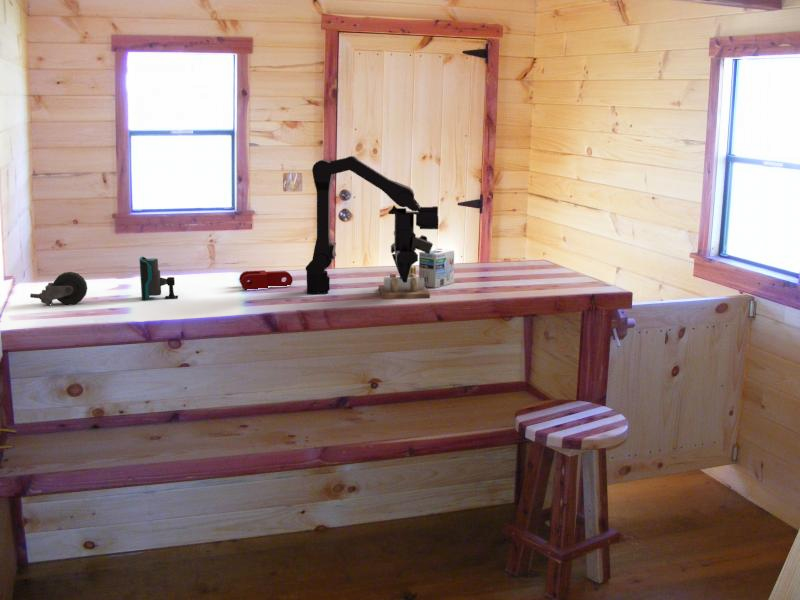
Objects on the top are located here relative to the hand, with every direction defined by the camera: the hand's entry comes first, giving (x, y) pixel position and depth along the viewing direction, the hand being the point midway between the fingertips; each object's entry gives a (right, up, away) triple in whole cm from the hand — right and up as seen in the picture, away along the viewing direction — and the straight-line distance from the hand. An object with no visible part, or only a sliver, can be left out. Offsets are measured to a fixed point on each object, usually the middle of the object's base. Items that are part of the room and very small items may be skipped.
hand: (403, 280), depth 274 cm
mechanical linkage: (-43, -2, +8) cm, 43 cm away
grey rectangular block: (0, -3, +1) cm, 3 cm away
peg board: (0, -4, +1) cm, 4 cm away
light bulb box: (+11, -1, +15) cm, 18 cm away
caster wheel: (-98, -7, -17) cm, 99 cm away
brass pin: (+3, -1, +13) cm, 13 cm away
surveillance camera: (-71, -6, -8) cm, 72 cm away
